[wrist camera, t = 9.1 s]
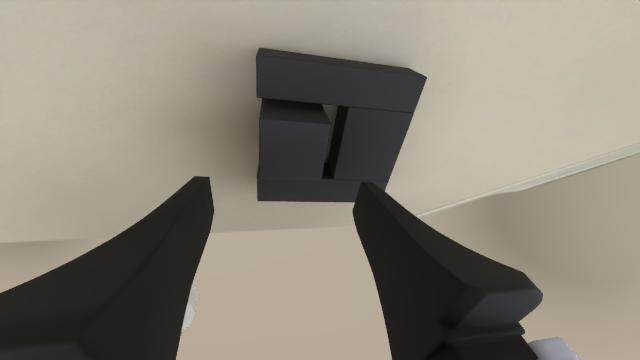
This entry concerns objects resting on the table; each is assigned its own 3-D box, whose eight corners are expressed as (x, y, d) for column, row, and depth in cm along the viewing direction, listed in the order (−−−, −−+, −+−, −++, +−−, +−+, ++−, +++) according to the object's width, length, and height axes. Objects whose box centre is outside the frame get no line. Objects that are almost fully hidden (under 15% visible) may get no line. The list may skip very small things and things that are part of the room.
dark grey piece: (371, 185, 22) (380, 203, 20) (259, 182, 20) (257, 201, 18) (409, 68, 16) (427, 77, 14) (258, 47, 14) (256, 54, 12)
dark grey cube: (313, 152, 19) (321, 181, 16) (262, 149, 18) (259, 179, 15) (320, 102, 17) (331, 124, 14) (262, 96, 16) (259, 118, 13)
